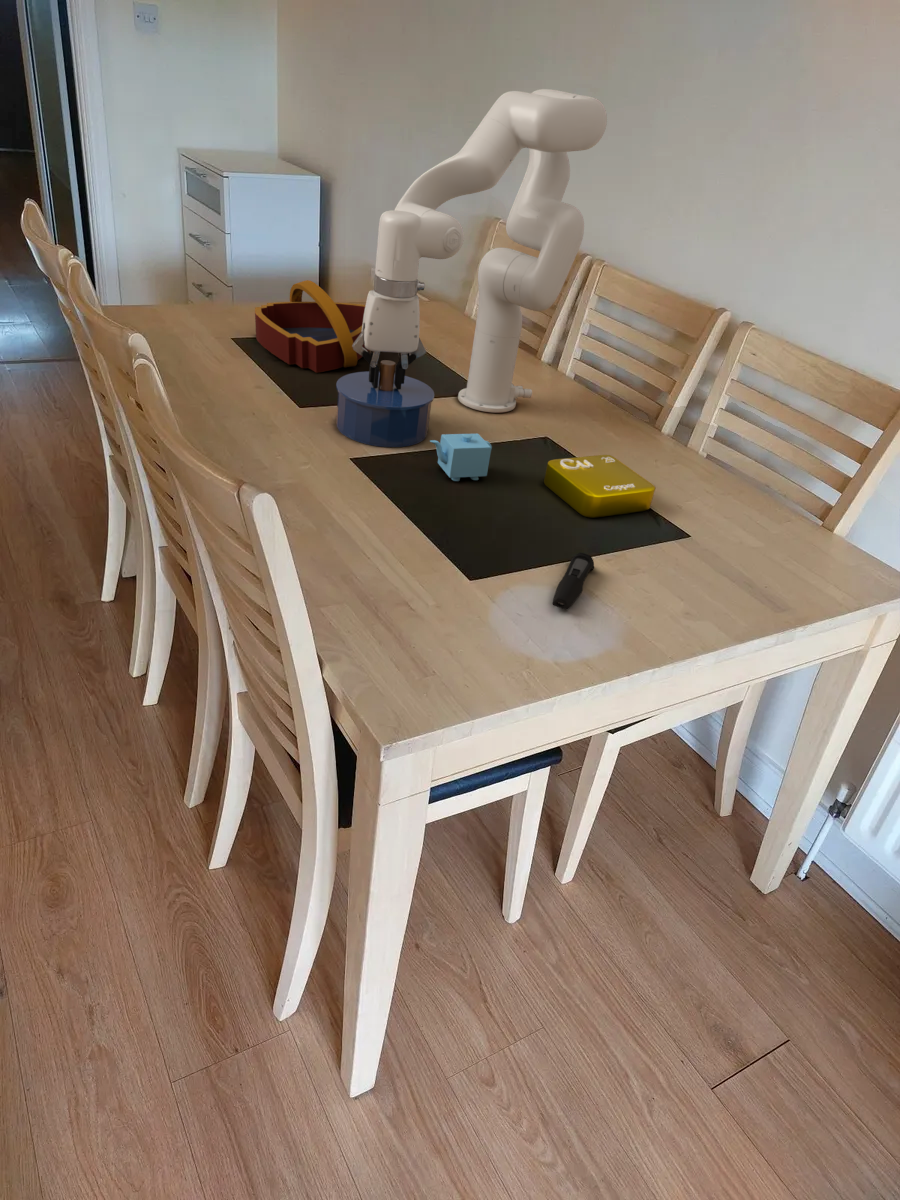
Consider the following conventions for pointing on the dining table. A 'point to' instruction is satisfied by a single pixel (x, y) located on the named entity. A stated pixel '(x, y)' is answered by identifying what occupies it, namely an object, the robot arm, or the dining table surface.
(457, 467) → the teapot
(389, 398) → the lid
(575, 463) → the element tile
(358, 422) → the pot
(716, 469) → the dining table surface
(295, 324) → the decorative basket
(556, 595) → the electric trimmer
